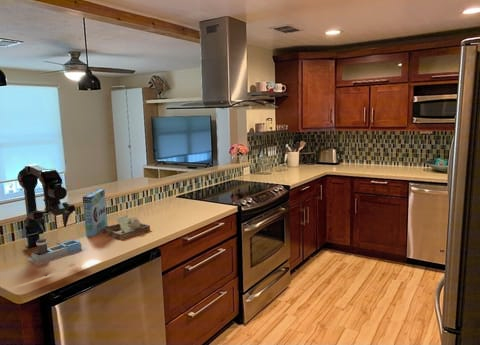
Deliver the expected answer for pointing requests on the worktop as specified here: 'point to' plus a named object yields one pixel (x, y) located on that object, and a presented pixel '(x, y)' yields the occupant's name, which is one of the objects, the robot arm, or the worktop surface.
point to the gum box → (95, 212)
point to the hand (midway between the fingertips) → (55, 229)
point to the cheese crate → (111, 232)
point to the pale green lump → (128, 223)
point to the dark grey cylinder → (42, 246)
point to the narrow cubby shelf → (57, 252)
